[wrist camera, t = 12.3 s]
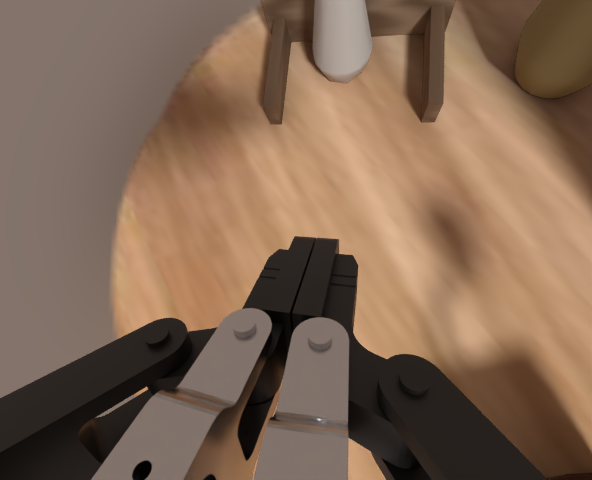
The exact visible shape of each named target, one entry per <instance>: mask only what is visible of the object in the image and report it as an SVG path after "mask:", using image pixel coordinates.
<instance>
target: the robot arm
mask: <svg viewBox="0 0 592 480" xmlns="http://www.w3.org/2000/svg"><path fill="white" fill-rule="evenodd" d="M357 277H358V264H357V262H356V260H355V258H354V257H353V255H344V254H339V239H327V238H317V239H316V238H312V237H298V236H295V237H294V239H293V241H292V243H291V246H290V248H289V250H282V249H279V250H278V251H276V252H275V253H274V254H273V255H271V256H270V257H269V258H268V260H267V262H266V264H265V266H264V270H262V272H261V274H260V276H259V278H258V280H257V281H256V283H255V285H254V287H253V289H252V291H251V293H250V295H249V297H248V299H247V301H246V303H245V305H244V307H243V308H242V309H240V310H237V311H235V312H233V313H231V314H229V315H228V316H227V317H225V318H224V319H223V321H222V322H221V323H220V325H219V326H218V327H217V328H212V329H205V330H198V331H190V332H188V331H187V328H186V326H185V324H184V323H183V322H182V321H181V320H178V319H175V318H164V319H159V320H156V321H153V322H151V323H149V324H147V325H145V326H143V327H141V328H139V329H137V330H135V331H133V332H131V333H129V334H127V335H125V336H123V337H121V338H119V339H117V340H115V341H113V342H111V343H109V344H107V345H105V346H104V347H101V348H100V349H97V350H95V351H94V352H92V353H90V354H88V355H86V356H84V357H82V358H80V359H78V360H76V361H74V362H72V363H70V364H68V365H66V366H64V367H62V368H60V369H58V370H56V371H54V372H52V373H50V374H48V375H46V376H44V377H42V378H40V379H38V380H36V381H34V382H32V383H30V384H28V385H26V386H24V387H22V388H20V389H18V390H16V391H14V392H12V393H10V394H8V395H6V396H4V397H2V398H0V480H252V478H253V471H254V467H255V463H256V460H257V457H258V455H259V458H258V462H257V467H256V471H255V476H254V480H348V437H349V438H350V439H352V440H353V441H355V442H357V443H358V444H360V445H362V446H363V447H365V448H366V449H368V450H370V451H371V453H372V456H373V458H374V460H375V461H376V463H377V465H378V466H379V468H380V470H381V471H382V473H383V475H384V476H385V478H386V480H547V479H546V478H545V477H544V476H543V475H542V474H541V473H540V472H539V471H538V470H537V469H536V468H535V467H534V466H533V465H532V463H531V462H530V461H529V460H528V459H527V458H526V457H525V456H524V455H523V454H522V453H521V452H520V451H519V450H518V449H517V448H516V447H515V446H514V445H513V444H512V443H511V442H510V441H509V440H508V439H507V438H506V437H505V436H504V435H503V434H502V433H501V432H500V431H499V430H498V429H497V428H496V427H495V426H494V425H493V424H492V423H491V422H490V421H489V420H488V419H487V418H486V417H485V416H484V415H483V414H482V413H481V412H480V411H479V410H478V409H477V408H476V407H475V405H474V404H473V403H472V402H471V401H470V400H469V399H468V398H467V397H466V396H465V395H464V394H463V393H462V392H461V391H460V390H459V389H458V388H457V387H456V386H455V385H454V384H453V383H452V382H451V381H450V380H449V379H448V378H447V377H446V376H445V375H444V374H443V373H442V372H441V371H440V370H439V369H438V368H437V367H436V366H435V365H434V364H432V363H431V362H429V361H427V360H426V359H424V358H421V357H419V356H415V355H410V354H400V355H395V356H392V357H390V358H389V359H385V358H383V357H380V356H378V355H376V354H374V353H372V352H370V351H368V350H367V349H365V348H364V347H363V346H362V345H361V344H360V343H359V342H358V341H357V340H356V338H355V336H354V334H353V326H354V316H355V306H356V294H357ZM283 375H284V376H283ZM282 379H283V380H282ZM281 382H282V385H281ZM146 386H147V387H148V390H147V391H145V392H143V393H142V394H140V395H138V396H137V397H135V398H133V399H132V400H130V401H128V402H127V403H125V404H124V405H122V406H120V407H119V408H117V409H115V410H114V411H112V412H110V413H109V414H107V415H105V416H102V417H98V418H95V417H97V416H98V415H100V414H101V413H103V412H105V411H107V410H108V409H110V408H112V407H113V406H115V405H116V404H118V403H120V402H121V401H123V400H125V399H126V398H128V397H130V396H131V395H133V394H135V393H136V392H138V391H140V390H141V389H143V388H145V387H146ZM277 403H278V404H277ZM276 406H277V409H276V412H275V415H274V416H273V414H274V411H275V408H276ZM259 452H260V454H259Z"/></svg>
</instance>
